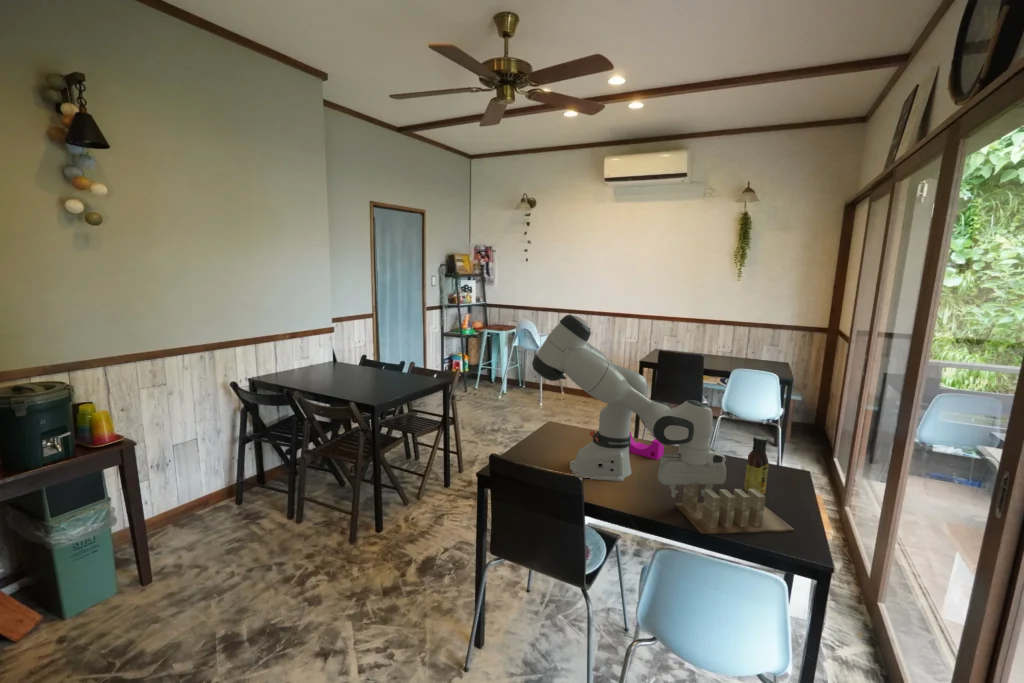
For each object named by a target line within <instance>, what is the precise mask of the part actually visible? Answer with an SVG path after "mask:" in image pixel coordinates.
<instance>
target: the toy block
mask: <svg viewBox="0 0 1024 683" xmlns="http://www.w3.org/2000/svg"><path fill="white" fill-rule="evenodd" d="M630 435H631V444H630V449H629V453H632V454H636V455H639V456H641V457H642V456H643V457H646V458H649V459H653V460H655V461H658V460H660V458H661V457H662V456H663V455H664V452H665V451H664V450H665V445H664V444H662V443H660V442H659V441H658V440H657V439H656V438H654V439H653V440H652V441H651V444H644V443H642V442H640V441H638V442H636V441H635V439H634V438H633V435H632V431H630Z"/></svg>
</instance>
